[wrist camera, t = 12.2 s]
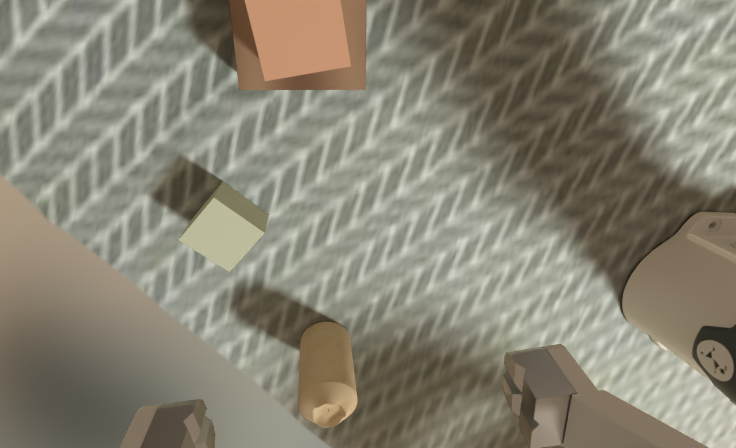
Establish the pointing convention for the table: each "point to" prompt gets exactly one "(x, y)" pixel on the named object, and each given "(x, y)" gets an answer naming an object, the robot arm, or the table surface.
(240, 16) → the walnut block
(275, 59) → the terracotta block
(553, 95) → the table surface
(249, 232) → the sage block
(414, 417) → the table surface
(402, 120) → the table surface
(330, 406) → the candle
